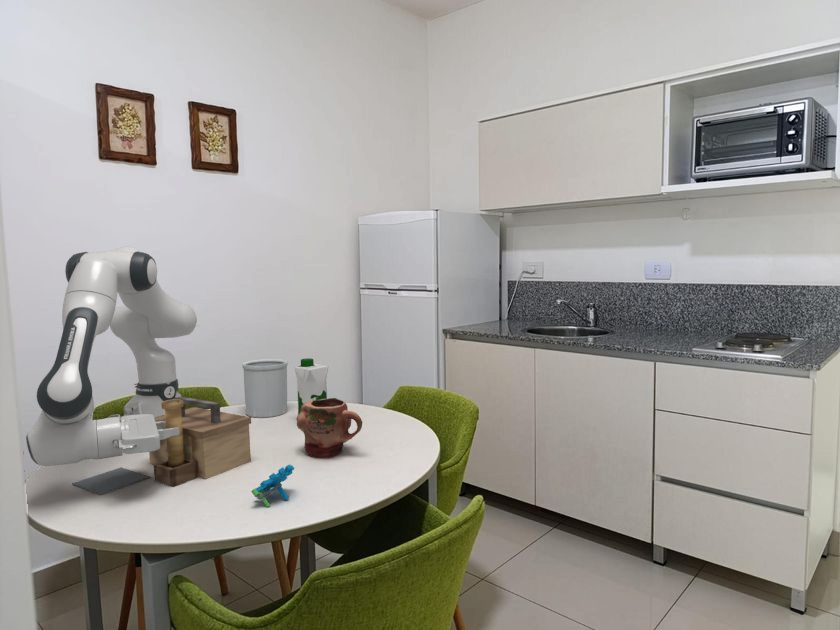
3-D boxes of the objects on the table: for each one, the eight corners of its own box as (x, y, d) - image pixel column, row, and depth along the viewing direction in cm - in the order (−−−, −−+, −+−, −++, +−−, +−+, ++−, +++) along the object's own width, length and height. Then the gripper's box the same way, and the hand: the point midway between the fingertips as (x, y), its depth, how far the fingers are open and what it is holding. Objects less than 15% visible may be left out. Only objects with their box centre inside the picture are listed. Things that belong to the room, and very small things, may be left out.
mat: (72, 484, 138) (72, 483, 138) (121, 468, 148) (121, 467, 148) (100, 494, 131) (100, 493, 131) (149, 477, 141) (149, 475, 141)
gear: (281, 478, 135) (297, 455, 129) (296, 499, 133) (313, 477, 127) (241, 501, 126) (256, 478, 120) (256, 523, 124) (273, 501, 119)
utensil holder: (276, 404, 210) (274, 356, 209) (297, 412, 199) (295, 361, 198) (237, 412, 201) (235, 362, 199) (257, 421, 190) (254, 367, 188)
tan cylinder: (161, 468, 139) (157, 402, 137) (179, 462, 143) (175, 398, 141) (174, 472, 137) (169, 405, 135) (191, 465, 141) (187, 400, 139)
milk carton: (315, 416, 194) (313, 356, 192) (333, 420, 188) (331, 359, 186) (293, 422, 187) (291, 360, 185) (311, 427, 181) (309, 363, 179)
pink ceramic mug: (373, 448, 159) (372, 398, 158) (354, 464, 148) (353, 410, 146) (308, 443, 166) (306, 394, 164) (285, 457, 154) (283, 405, 153)
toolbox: (123, 471, 146) (118, 407, 144) (196, 447, 164) (193, 390, 162) (180, 489, 133) (176, 419, 132) (253, 461, 152) (250, 399, 150)
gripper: (111, 436, 123) (182, 425, 130) (111, 413, 141) (173, 405, 148) (114, 464, 124) (183, 453, 131) (113, 438, 142) (174, 429, 148)
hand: (178, 427), depth 139 cm, fingers closed on tan cylinder, 4 cm apart
